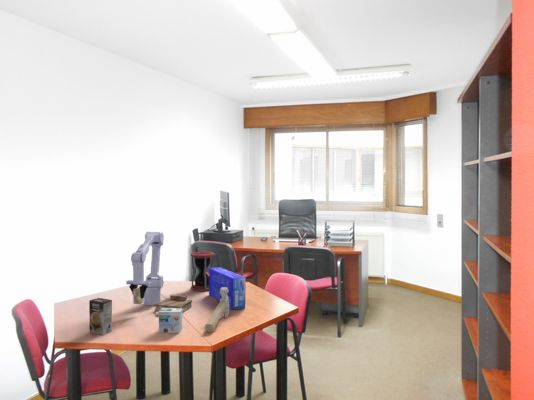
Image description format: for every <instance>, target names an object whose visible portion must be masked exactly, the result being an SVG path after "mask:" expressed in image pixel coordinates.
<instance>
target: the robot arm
mask: <svg viewBox="0 0 534 400" xmlns="http://www.w3.org/2000/svg"><path fill="white" fill-rule="evenodd" d="M164 240H165V239H164V233H163V232H162V231H146V232H145V234H144V242H143V243H142V244H140V245H139V246H138V249H136V251H134V252H132V254H131V255H130V257H131V258H130V260H131V265H132V277H133V278H132V280H131V279H130V280H129V279H128V280H126V283H125V284H126V285H129V286H128V288H129V289H130V291H131V293H132V295H133V289H136V288H140V297H141V299H142V298H144V303H142V304H143V305H149V306H155V304H156V303H158V302H160V301H162V300H161V299H162V298H161V296H162V295H161V290H162V288H163V287H164V276H163V275H162V274H161V273H160V258H161V247H162V246H163V245H164ZM150 247H152V249H151V262H150V263H151V264H150V273H149V274H147V275H146V278H145V272H144V271H145V266H144V265H145V262H146V259H147V255H148V253H149V251H150Z"/></svg>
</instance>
